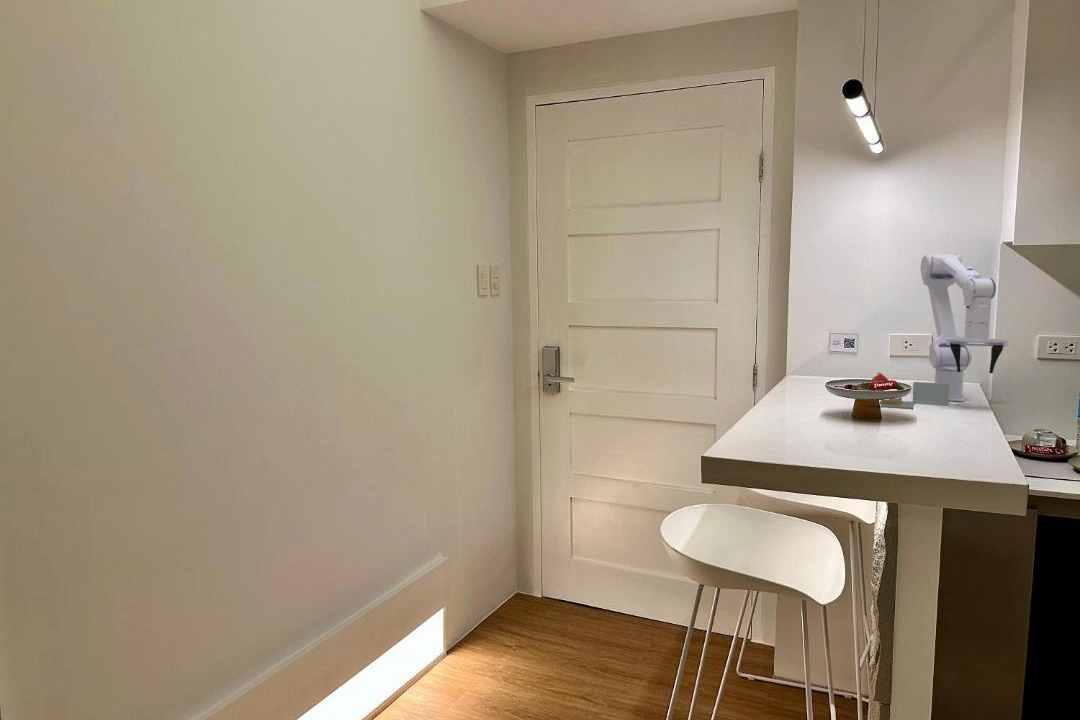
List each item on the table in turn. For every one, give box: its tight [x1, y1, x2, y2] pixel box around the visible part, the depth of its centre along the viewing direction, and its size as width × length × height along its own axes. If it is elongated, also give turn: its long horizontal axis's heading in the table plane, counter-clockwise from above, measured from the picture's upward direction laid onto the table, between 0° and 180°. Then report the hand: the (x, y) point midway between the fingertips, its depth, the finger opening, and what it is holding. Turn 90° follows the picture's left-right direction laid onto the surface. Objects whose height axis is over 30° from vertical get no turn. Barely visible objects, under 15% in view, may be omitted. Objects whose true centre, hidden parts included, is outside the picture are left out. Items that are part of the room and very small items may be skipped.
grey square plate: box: [880, 399, 915, 410], centre depth 214 cm, size 11×11×1 cm
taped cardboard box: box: [882, 397, 903, 405], centre depth 213 cm, size 5×5×5 cm
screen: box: [911, 381, 949, 406], centre depth 215 cm, size 3×9×6 cm, turn 62°
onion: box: [869, 371, 890, 383], centre depth 224 cm, size 6×6×8 cm
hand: (974, 372), depth 206 cm, fingers open, 7 cm apart
